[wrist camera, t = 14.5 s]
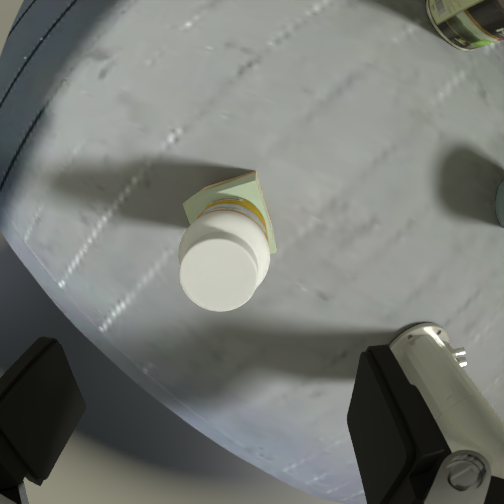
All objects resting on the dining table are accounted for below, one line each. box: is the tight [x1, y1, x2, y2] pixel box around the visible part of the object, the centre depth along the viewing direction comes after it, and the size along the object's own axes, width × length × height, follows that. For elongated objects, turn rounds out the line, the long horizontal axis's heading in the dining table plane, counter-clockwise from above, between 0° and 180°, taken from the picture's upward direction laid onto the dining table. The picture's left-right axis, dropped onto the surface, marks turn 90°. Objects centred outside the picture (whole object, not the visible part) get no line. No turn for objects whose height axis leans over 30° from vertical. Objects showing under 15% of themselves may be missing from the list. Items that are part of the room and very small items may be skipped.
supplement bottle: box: [179, 196, 270, 312], centre depth 20 cm, size 5×5×10 cm
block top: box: [183, 174, 277, 254], centre depth 27 cm, size 6×6×6 cm
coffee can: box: [426, 0, 504, 51], centre depth 20 cm, size 10×10×14 cm
